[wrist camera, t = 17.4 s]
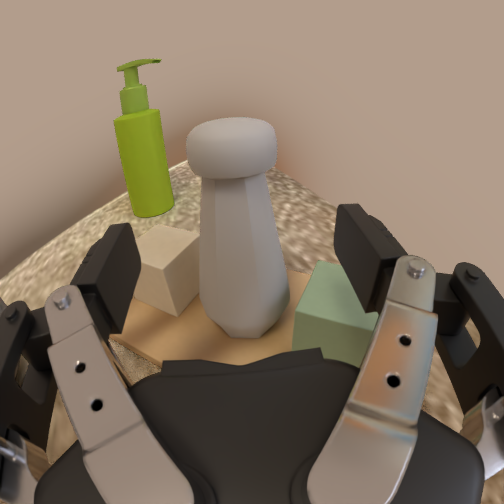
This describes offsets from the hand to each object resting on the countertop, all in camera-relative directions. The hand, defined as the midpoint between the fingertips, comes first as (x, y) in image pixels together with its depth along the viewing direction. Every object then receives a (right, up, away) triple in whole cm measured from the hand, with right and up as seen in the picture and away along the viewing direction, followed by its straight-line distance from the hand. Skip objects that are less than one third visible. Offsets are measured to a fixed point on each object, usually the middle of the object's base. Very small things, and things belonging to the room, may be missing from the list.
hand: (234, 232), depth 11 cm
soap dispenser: (-12, +5, +27) cm, 30 cm away
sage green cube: (+6, -6, +7) cm, 11 cm away
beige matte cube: (-6, -4, +12) cm, 13 cm away
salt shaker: (0, -5, +9) cm, 11 cm away
